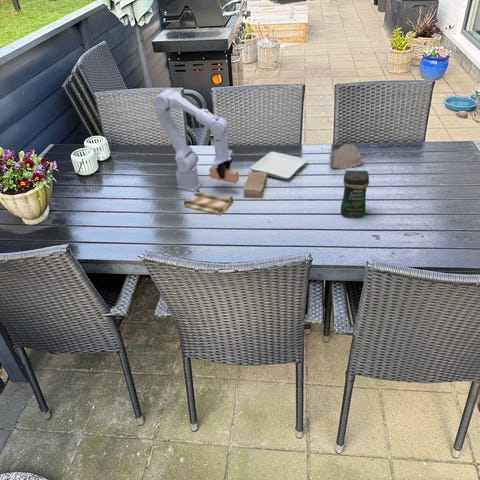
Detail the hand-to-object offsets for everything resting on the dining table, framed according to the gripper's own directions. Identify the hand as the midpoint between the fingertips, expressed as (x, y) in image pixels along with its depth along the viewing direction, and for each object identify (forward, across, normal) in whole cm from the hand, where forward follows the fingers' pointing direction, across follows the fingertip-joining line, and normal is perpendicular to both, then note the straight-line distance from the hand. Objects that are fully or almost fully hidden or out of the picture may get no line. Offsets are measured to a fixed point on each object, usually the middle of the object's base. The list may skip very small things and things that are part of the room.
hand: (224, 176), depth 197 cm
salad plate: (+8, +28, -14) cm, 32 cm away
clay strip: (+2, 0, 0) cm, 2 cm away
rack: (+8, -13, +1) cm, 15 cm away
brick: (+8, +7, -12) cm, 16 cm away
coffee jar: (+8, +3, -57) cm, 58 cm away
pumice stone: (+8, +42, -42) cm, 60 cm away
